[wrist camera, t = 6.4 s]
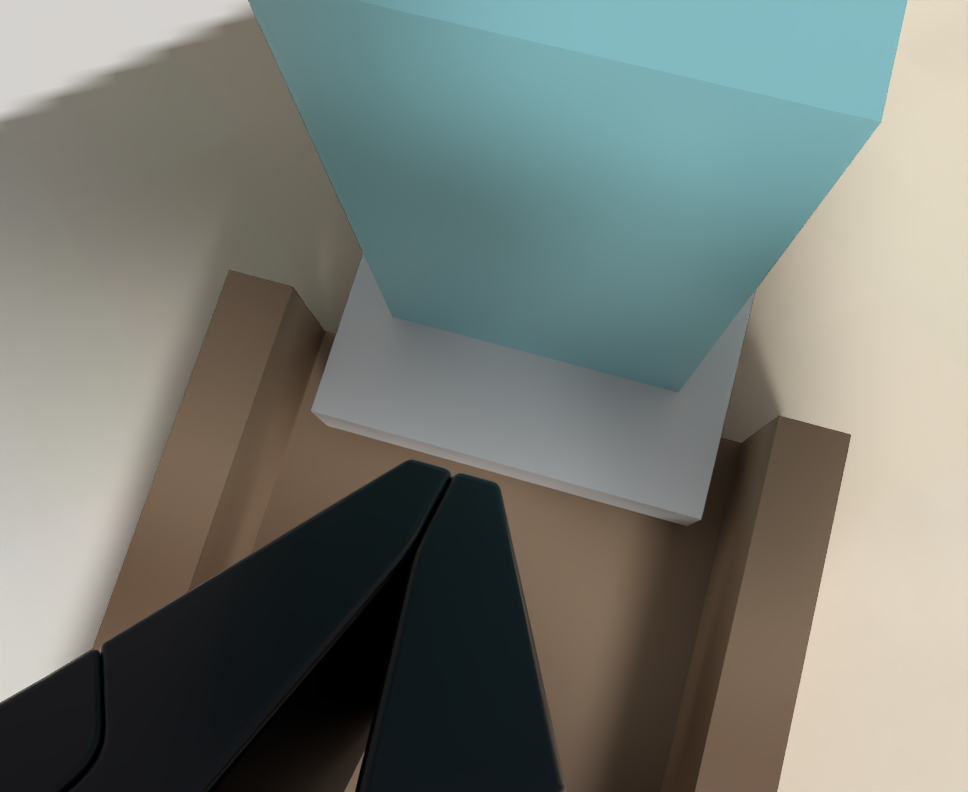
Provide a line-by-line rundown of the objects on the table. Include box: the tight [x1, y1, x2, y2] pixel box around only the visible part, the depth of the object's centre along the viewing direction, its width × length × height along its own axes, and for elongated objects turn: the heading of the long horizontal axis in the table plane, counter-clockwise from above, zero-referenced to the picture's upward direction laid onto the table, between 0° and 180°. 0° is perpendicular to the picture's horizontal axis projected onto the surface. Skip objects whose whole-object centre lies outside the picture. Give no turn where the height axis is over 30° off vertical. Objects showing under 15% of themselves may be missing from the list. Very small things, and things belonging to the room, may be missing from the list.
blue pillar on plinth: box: [248, 0, 907, 526], centre depth 11 cm, size 8×6×9 cm
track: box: [93, 270, 851, 792], centre depth 13 cm, size 11×9×2 cm
